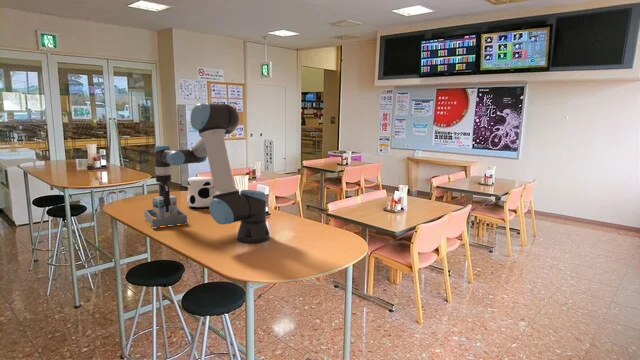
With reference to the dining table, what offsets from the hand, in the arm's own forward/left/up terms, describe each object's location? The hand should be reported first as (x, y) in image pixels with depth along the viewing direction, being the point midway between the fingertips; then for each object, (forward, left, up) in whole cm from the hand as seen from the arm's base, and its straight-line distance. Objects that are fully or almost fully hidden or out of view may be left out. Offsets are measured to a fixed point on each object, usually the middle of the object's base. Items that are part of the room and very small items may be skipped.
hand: (165, 215), depth 208 cm
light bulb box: (0, 0, -1) cm, 1 cm away
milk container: (+25, -27, -3) cm, 37 cm away
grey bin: (0, 0, -3) cm, 3 cm away
